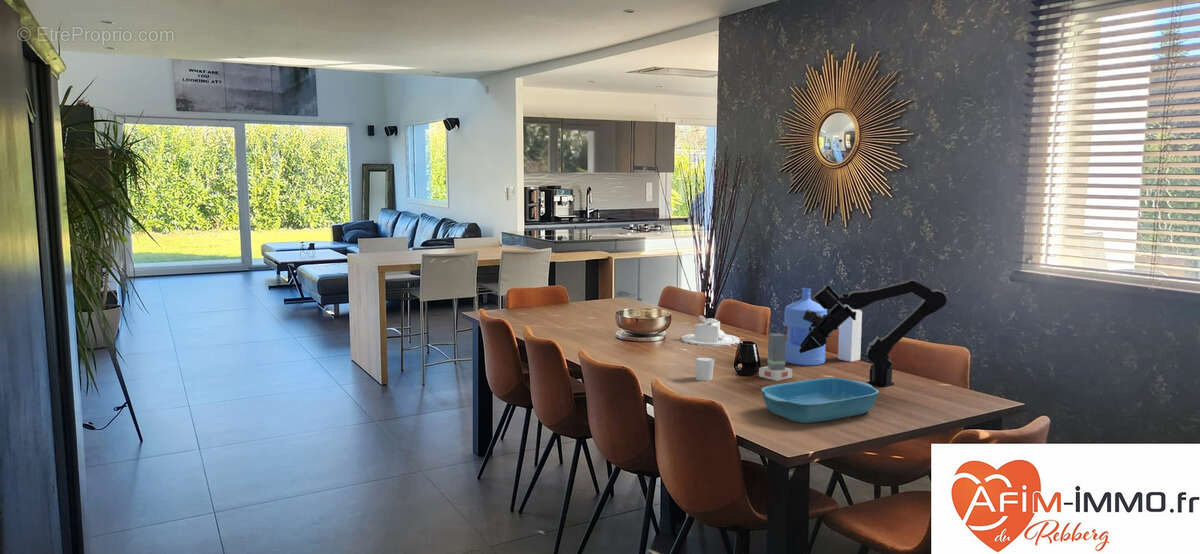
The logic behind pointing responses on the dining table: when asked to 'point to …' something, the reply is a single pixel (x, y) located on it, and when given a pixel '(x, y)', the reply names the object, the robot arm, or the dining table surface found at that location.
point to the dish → (709, 334)
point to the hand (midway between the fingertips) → (800, 349)
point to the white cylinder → (704, 368)
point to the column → (776, 351)
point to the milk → (850, 338)
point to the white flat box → (775, 373)
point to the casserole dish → (819, 399)
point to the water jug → (802, 331)
